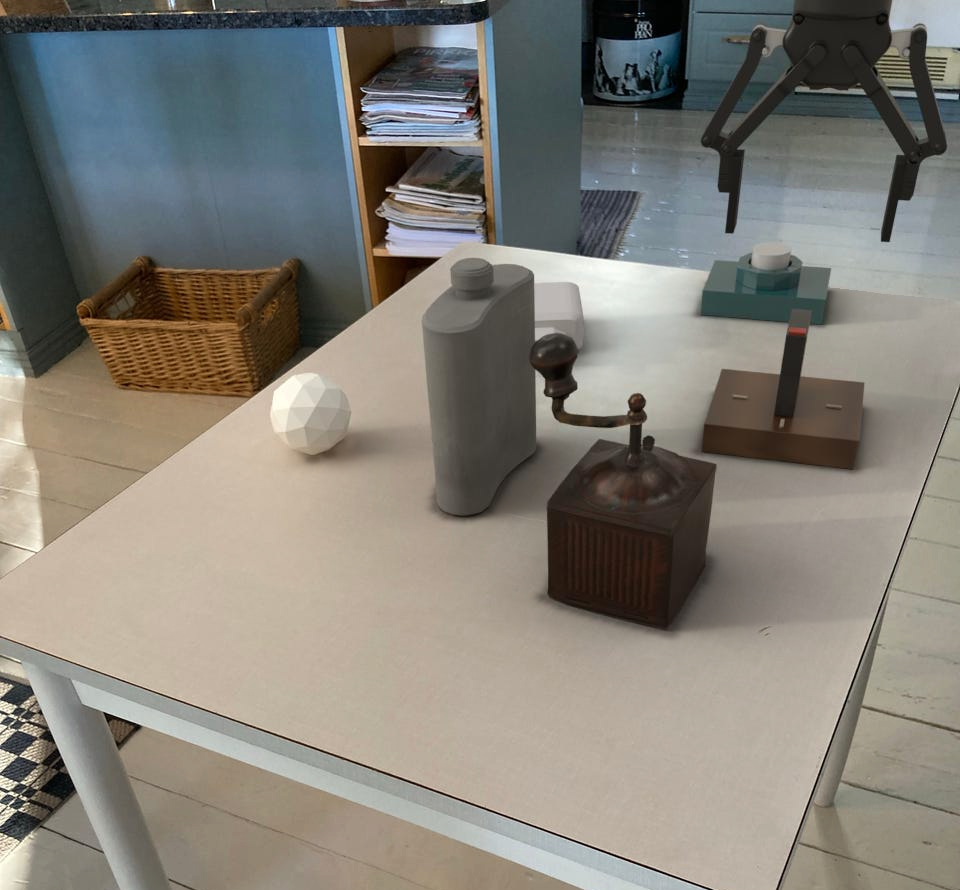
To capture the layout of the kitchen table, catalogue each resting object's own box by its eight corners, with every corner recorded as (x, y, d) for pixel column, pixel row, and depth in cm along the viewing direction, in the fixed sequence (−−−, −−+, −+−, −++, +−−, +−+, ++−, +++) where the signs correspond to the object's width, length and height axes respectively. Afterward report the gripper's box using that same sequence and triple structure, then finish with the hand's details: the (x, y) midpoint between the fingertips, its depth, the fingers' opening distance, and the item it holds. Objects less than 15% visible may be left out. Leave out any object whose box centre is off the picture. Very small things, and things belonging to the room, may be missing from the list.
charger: (502, 379, 112) (501, 323, 124) (587, 376, 112) (578, 319, 124) (501, 338, 109) (500, 284, 121) (587, 334, 109) (579, 281, 120)
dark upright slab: (779, 387, 102) (792, 306, 96) (798, 388, 101) (812, 307, 96) (773, 415, 97) (786, 332, 92) (793, 417, 97) (807, 334, 92)
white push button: (790, 260, 123) (793, 243, 122) (786, 274, 120) (789, 256, 118) (752, 257, 124) (755, 240, 123) (748, 271, 121) (750, 253, 120)
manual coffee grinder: (712, 556, 86) (737, 352, 74) (668, 633, 78) (688, 421, 67) (543, 515, 92) (542, 320, 80) (487, 583, 84) (476, 380, 73)
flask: (490, 433, 103) (481, 230, 91) (544, 443, 101) (542, 237, 88) (419, 508, 93) (398, 292, 81) (477, 522, 91) (464, 302, 78)
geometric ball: (306, 481, 103) (248, 438, 97) (312, 419, 107) (256, 375, 101) (365, 453, 100) (308, 407, 94) (368, 390, 103) (314, 342, 98)
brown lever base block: (858, 409, 104) (865, 380, 102) (853, 469, 95) (859, 439, 93) (718, 395, 107) (721, 366, 105) (700, 451, 99) (704, 422, 97)
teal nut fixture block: (827, 292, 127) (834, 251, 123) (821, 325, 119) (828, 282, 116) (712, 283, 130) (716, 243, 127) (700, 314, 123) (704, 273, 120)
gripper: (681, -36, 80) (663, 239, 94) (1028, -40, 74) (954, 255, 88) (695, -50, 86) (675, 212, 100) (1019, -55, 80) (951, 226, 93)
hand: (806, 233), depth 94 cm, fingers open, 13 cm apart
